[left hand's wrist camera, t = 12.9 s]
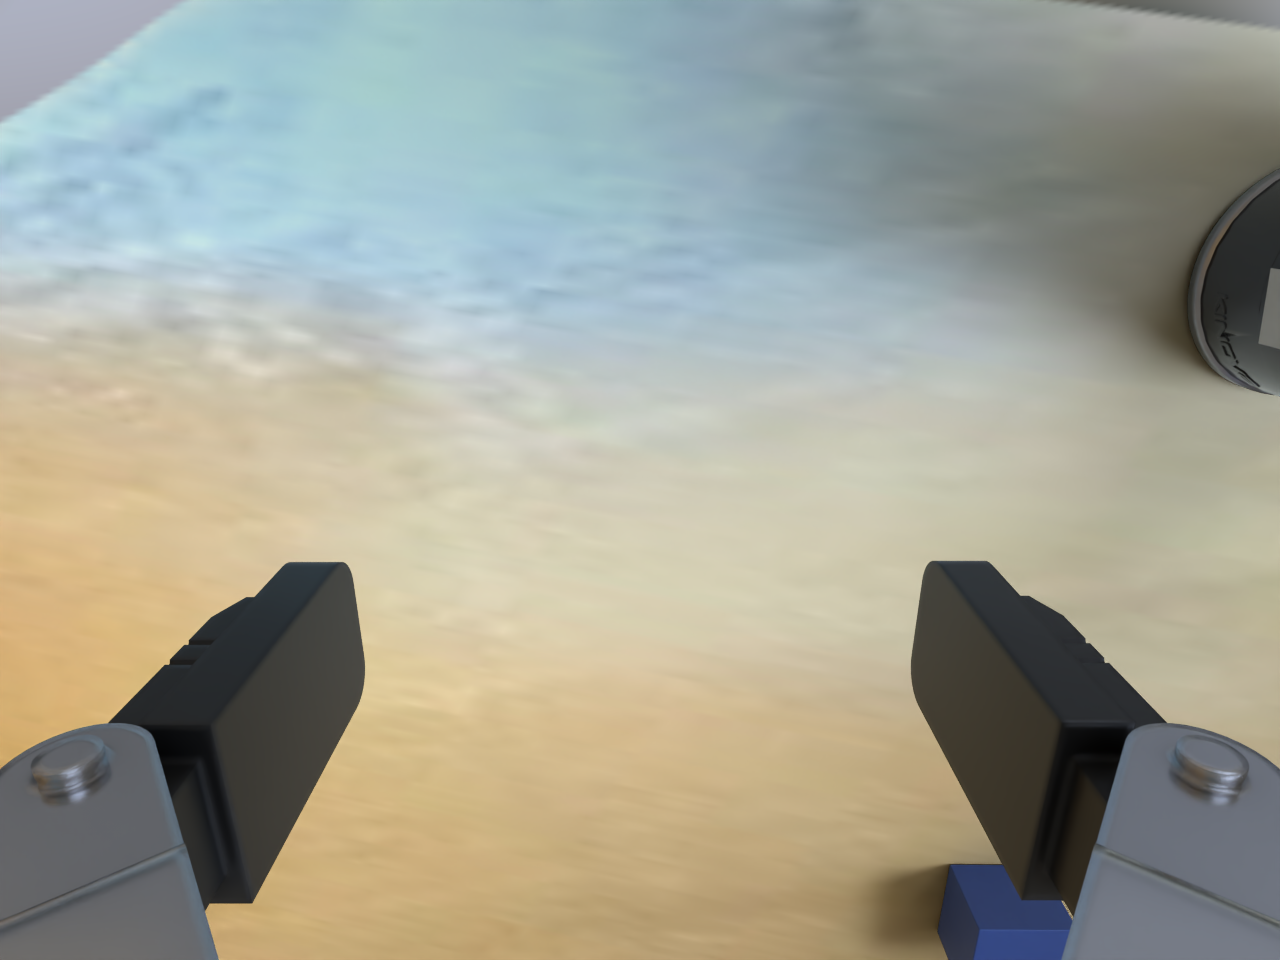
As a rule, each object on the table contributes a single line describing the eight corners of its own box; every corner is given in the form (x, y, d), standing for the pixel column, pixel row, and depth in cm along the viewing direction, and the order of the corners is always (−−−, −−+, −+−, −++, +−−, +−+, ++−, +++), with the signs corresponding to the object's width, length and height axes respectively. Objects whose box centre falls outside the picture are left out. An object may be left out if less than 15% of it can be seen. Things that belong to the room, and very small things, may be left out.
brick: (949, 864, 43) (979, 929, 39) (1040, 864, 43) (1079, 930, 39) (937, 931, 45) (964, 1000, 41) (1024, 932, 45) (1059, 1001, 41)
